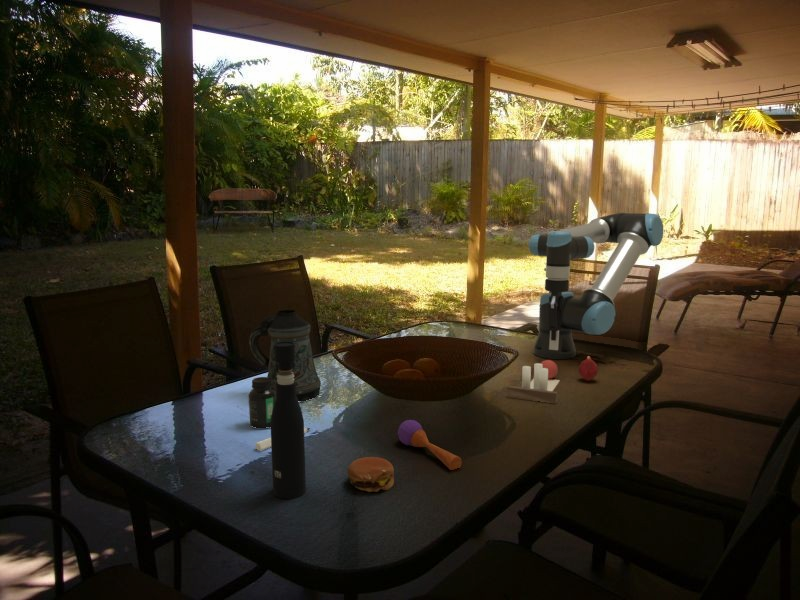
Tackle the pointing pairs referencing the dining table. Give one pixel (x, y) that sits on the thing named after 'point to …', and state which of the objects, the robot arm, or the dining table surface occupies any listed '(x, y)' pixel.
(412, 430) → the maraca
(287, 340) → the beer stein
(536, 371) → the front pin
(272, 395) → the supplement bottle
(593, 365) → the onion
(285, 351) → the black water bottle
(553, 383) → the cream flat rectangular slab
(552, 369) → the ball
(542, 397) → the backstop
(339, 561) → the dining table surface
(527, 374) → the back pin right
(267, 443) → the marker
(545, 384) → the back pin left
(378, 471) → the burger
